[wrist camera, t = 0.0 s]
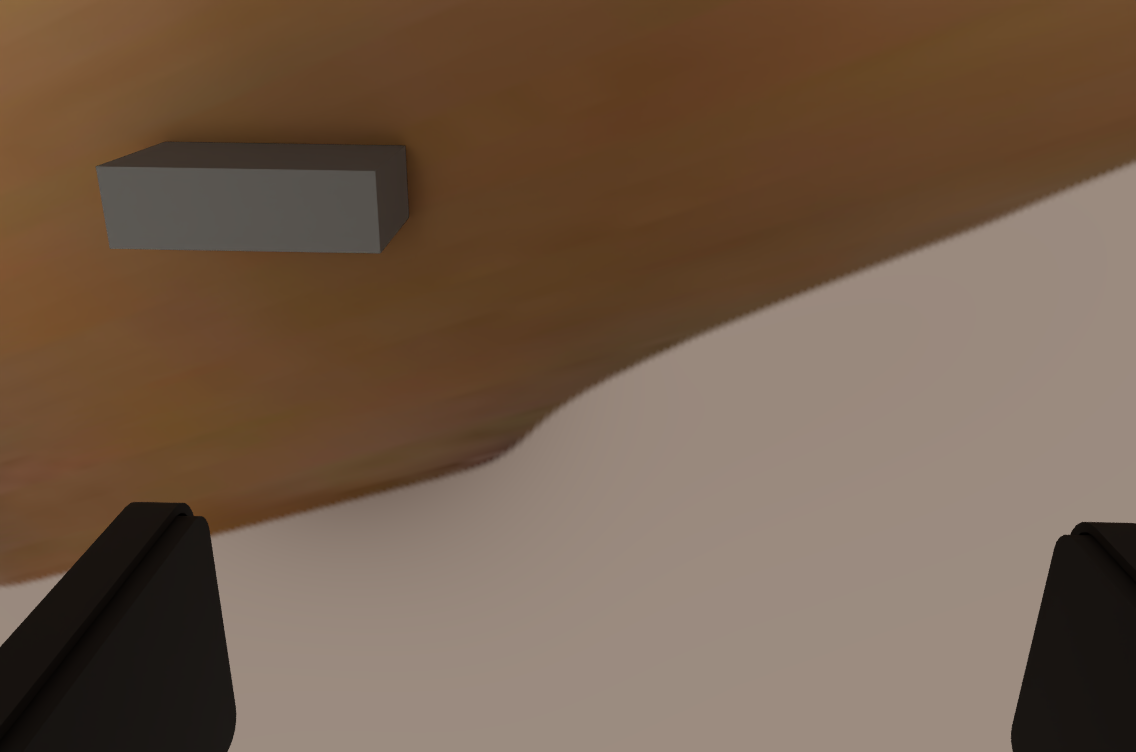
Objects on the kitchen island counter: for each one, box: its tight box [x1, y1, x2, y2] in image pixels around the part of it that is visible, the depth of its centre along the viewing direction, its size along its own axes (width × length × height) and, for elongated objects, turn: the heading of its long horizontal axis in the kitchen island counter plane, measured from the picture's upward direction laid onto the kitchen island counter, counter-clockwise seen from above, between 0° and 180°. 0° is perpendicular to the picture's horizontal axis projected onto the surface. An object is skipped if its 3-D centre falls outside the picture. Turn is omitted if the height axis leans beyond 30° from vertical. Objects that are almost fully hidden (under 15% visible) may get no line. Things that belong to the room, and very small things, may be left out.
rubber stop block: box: [96, 142, 409, 253], centre depth 37 cm, size 3×10×6 cm, turn 89°
